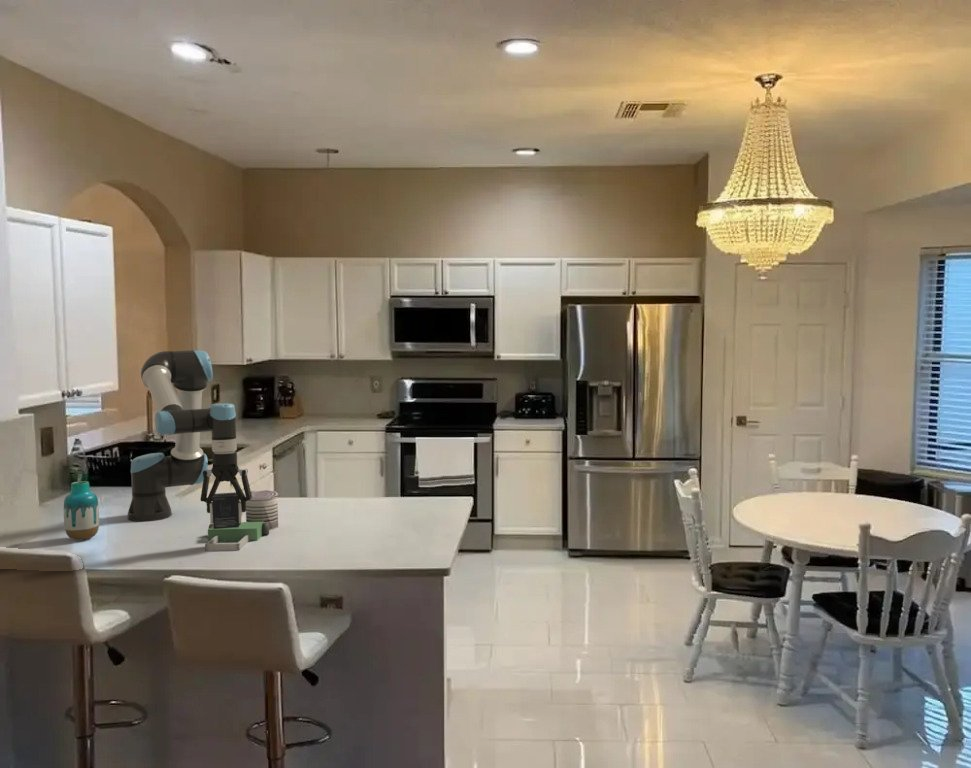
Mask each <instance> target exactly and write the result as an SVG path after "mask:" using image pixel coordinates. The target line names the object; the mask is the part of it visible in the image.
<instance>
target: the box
mask: <svg viewBox="0 0 971 768" xmlns="http://www.w3.org/2000/svg"><path fill="white" fill-rule="evenodd" d="M239 502H240V499H239V497H238V495H237V493H236V491H235V492H222V493H221V492H220V493H215V494H214V495H213V497H212V504H213V524H214V529H222V528H236V527H239V526H240V524H241V523H239V507H238V503H239Z"/></svg>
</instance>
